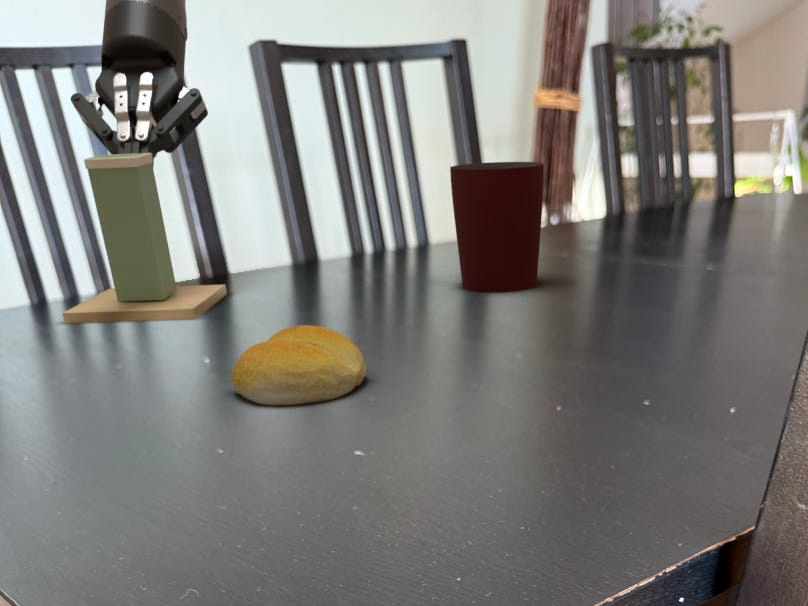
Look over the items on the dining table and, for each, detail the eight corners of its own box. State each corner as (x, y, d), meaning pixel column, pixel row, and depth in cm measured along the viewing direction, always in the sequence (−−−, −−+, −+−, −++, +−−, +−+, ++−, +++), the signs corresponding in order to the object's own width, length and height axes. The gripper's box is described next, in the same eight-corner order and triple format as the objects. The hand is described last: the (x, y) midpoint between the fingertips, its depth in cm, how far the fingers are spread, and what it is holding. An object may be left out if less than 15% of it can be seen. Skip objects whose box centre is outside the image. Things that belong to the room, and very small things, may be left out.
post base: (65, 326, 86) (61, 312, 85) (111, 300, 96) (108, 288, 95) (195, 322, 85) (193, 308, 85) (227, 296, 96) (225, 284, 95)
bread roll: (214, 407, 62) (203, 344, 60) (282, 371, 69) (274, 315, 67) (327, 414, 59) (319, 350, 57) (385, 377, 66) (380, 318, 64)
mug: (469, 275, 102) (465, 160, 96) (551, 274, 100) (551, 158, 94) (447, 296, 91) (441, 170, 86) (538, 296, 90) (538, 167, 84)
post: (116, 302, 88) (83, 159, 82) (132, 291, 92) (101, 154, 86) (164, 300, 88) (135, 157, 82) (178, 290, 92) (151, 152, 86)
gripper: (60, 1, 88) (44, 158, 84) (200, -6, 88) (191, 152, 84) (94, 67, 95) (81, 214, 91) (224, 61, 95) (216, 209, 91)
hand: (134, 184), depth 87 cm, fingers closed
